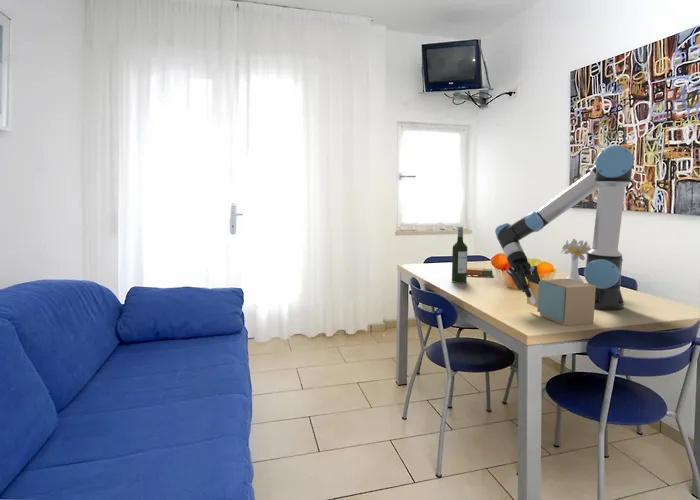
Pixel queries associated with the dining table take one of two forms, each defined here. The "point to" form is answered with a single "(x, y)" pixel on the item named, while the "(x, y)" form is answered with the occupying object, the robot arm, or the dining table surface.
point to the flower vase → (575, 257)
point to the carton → (479, 272)
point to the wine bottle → (459, 259)
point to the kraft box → (575, 301)
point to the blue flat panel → (548, 299)
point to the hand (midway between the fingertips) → (538, 303)
